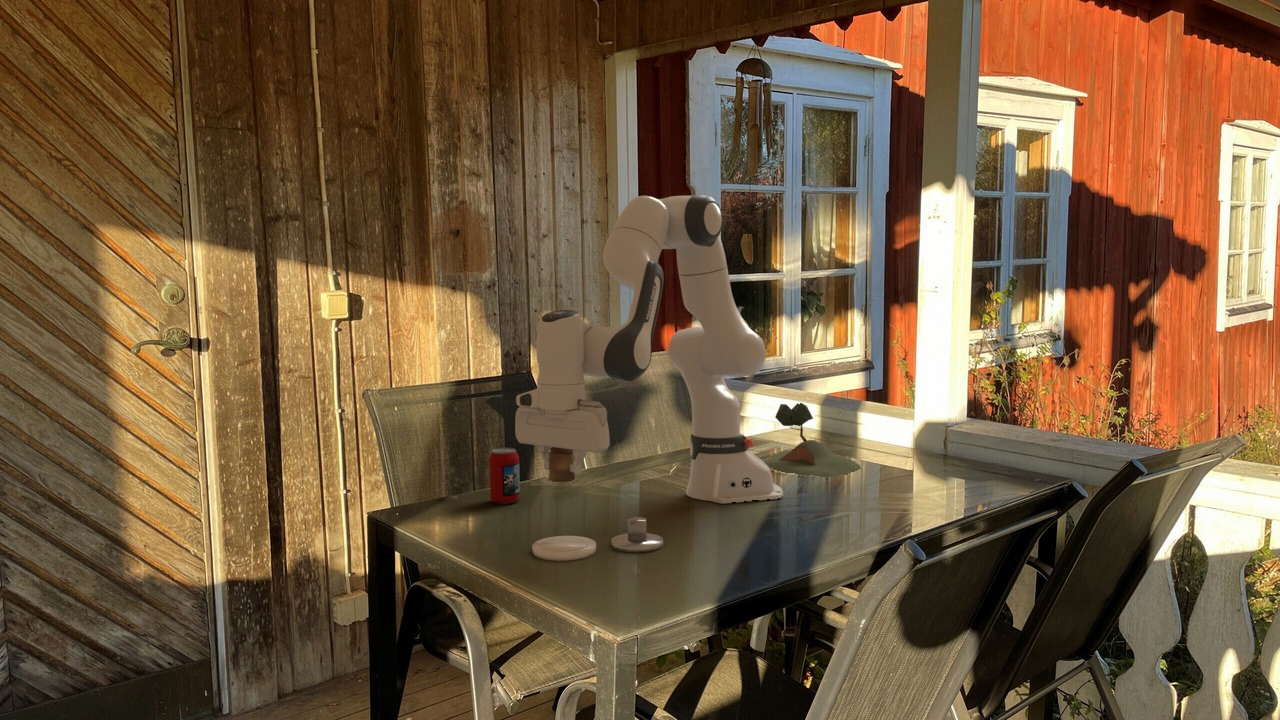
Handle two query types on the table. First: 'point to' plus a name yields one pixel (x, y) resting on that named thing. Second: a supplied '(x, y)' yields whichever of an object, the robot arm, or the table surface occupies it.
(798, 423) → the plant
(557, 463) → the cap
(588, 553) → the saucer
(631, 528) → the pedestal
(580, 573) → the table surface
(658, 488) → the table surface
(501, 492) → the beverage can
